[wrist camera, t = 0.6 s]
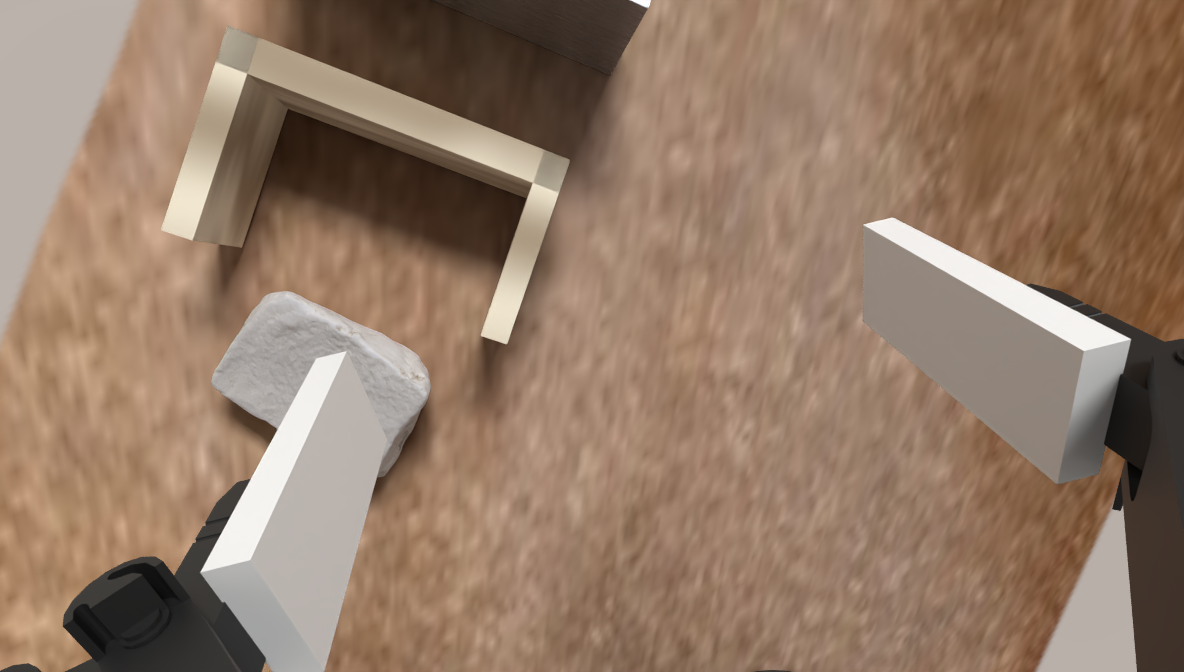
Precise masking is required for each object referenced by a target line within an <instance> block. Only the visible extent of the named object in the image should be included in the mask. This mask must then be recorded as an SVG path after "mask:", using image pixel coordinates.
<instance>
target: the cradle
mask: <svg viewBox="0 0 1184 672" xmlns="http://www.w3.org/2000/svg"><path fill="white" fill-rule="evenodd" d="M288 109H290V110H293V111H296V112H298V113H301V114H304V115H306V116H309V117H311V118H314V119H317V120H319V121H322V122H325V123H327V124H330V125H333V126H335V127H338V128H341V129H343V130H346V131H349V132H351V133H354V134H357V135H359V136H362V137H365V138H367V139H370V140H373V141H375V142H378V143H381V144H383V145H386V146H389V147H391V148H394V149H397V150H399V151H402V152H405V153H407V154H410V155H413V156H415V157H418V158H420V159H423V160H426V161H428V162H431V163H434V164H436V165H439V166H442V167H444V168H447V169H450V170H452V171H455V172H458V173H460V174H463V175H466V176H468V177H471V178H474V179H476V180H479V181H482V182H484V183H487V184H490V185H492V186H495V187H498V188H500V189H503V190H506V191H508V192H511V193H514V194H516V195H519V196H522V197H524V198H527V199H526V202H525V205H524V208H523V211H522V214H521V216H520V219H519V222H518V225H517V228H516V231H515V234H514V237H513V240H512V243H511V246H510V249H509V252H508V254H507V257H506V260H505V263H504V266H503V269H502V272H501V275H500V278H499V281H498V284H497V287H496V290H495V292H494V295H493V298H492V301H491V304H490V307H489V310H488V313H487V316H486V319H485V322H484V325H483V328H482V332H481V336H483V337H486V338H489V339H492V340H495V341H498V342H501V343H504V344H507V343H508V340H509V337H510V334H511V331H512V328H513V325H514V322H515V319H516V317H517V314H518V311H519V308H520V305H521V302H522V299H523V296H524V293H525V290H526V287H527V285H528V282H529V279H530V276H531V273H532V270H533V267H534V264H535V261H536V258H537V255H538V253H539V250H540V247H541V244H542V241H543V238H544V235H545V232H546V229H547V226H548V223H549V221H550V218H551V215H552V212H553V209H554V206H555V203H556V200H557V197H558V194H559V191H560V188H561V186H562V183H563V180H564V177H565V174H566V171H567V168H568V165H569V162H570V160H569V159H566V158H564V157H561V156H559V155H556V154H554V153H551V152H549V151H546V150H544V149H541V148H538V147H536V146H533V145H531V144H528V143H526V142H523V141H521V140H518V139H516V138H513V137H510V136H508V135H505V134H503V133H500V132H498V131H495V130H493V129H490V128H488V127H485V126H482V125H480V124H477V123H475V122H472V121H470V120H467V119H465V118H462V117H460V116H457V115H454V114H452V113H449V112H447V111H444V110H442V109H439V108H437V107H434V106H432V105H429V104H426V103H424V102H421V101H419V100H416V99H414V98H411V97H409V96H406V95H404V94H401V93H398V92H396V91H393V90H391V89H388V88H386V87H383V86H381V85H378V84H375V83H373V82H370V81H368V80H365V79H363V78H360V77H358V76H355V75H353V74H350V73H347V72H345V71H342V70H340V69H337V68H335V67H332V66H330V65H327V64H325V63H322V62H319V61H317V60H314V59H312V58H309V57H307V56H304V55H302V54H299V53H297V52H294V51H291V50H289V49H286V48H284V47H281V46H279V45H276V44H274V43H271V42H269V41H266V40H263V39H261V38H258V37H256V36H253V35H251V34H248V33H246V32H243V31H241V30H238V29H235V28H233V27H230V26H227V29H226V32H225V35H224V39H223V42H222V45H221V48H220V51H219V54H218V57H217V60H216V63H215V66H214V69H213V72H212V75H211V78H210V81H209V85H208V88H207V91H206V94H205V97H204V100H203V103H202V106H201V109H200V112H199V115H198V118H197V121H196V124H195V128H194V131H193V134H192V137H191V140H190V143H189V146H188V149H187V152H186V155H185V158H184V161H183V164H182V167H181V170H180V174H179V177H178V180H177V183H176V186H175V189H174V192H173V195H172V198H171V201H170V204H169V207H168V210H167V213H166V217H165V220H164V223H163V226H162V229H161V230H162V231H165V232H168V233H171V234H174V235H177V236H180V237H183V238H186V239H189V240H193V241H199V242H206V243H213V244H220V245H227V246H234V247H241V248H242V246H243V243H244V240H245V237H246V234H247V231H248V228H249V225H250V222H251V219H252V216H253V213H254V210H255V207H256V204H257V201H258V198H259V195H260V192H261V189H262V186H263V183H264V179H265V176H266V173H267V170H268V167H269V164H270V161H271V158H272V155H273V152H274V149H275V146H276V143H277V140H278V137H279V134H280V131H281V128H282V125H283V122H284V119H285V116H286V113H287V110H288Z"/></svg>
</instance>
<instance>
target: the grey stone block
mask: <svg viewBox="0 0 1184 672" xmlns="http://www.w3.org/2000/svg"><path fill="white" fill-rule="evenodd" d="M345 351H347V352H348V354H349V357H350V359H351V361H352V363H353V365H354V368H355V370H356V372H357V374H358V376H359V379H360V381H361V383H362V385H363V387H364V389H365V392H366V394H367V396H368V398H369V400H370V403H371V405H372V407H373V409H374V411H375V414H376V416H377V418H378V420H379V422H380V425H381V427H382V429H383V431H384V433H385V435H386V438H387V441H386V445H385V449H384V453H383V456H382V460H381V464H380V467H379V471H378V475H377V477H384V476H385V475H386V474H387V472H388V471H389V469H390V468H391V467H392V466H393V465H394V463H395V462H396V461H397V459H398V457H399V455H400V452H401V450H402V446H403V444H404V442H405V440H406V439H407V437H408V436H409V434H410V433H411V432H412V430H413V428H414V426H415V423H416V422H417V419H418V416H419V414H420V410H421V409H422V408H423V407H424V406H425V404H426V402H427V400H428V397H429V394H430V390H431V384H430V380H429V374H428V371H427V369H426V368H425V366H424V364H423V363H422V362H421V359H420V357H419V356H418V355H417V354H416V353H414V352H413V351H411V350H410V349H408V348H407V347H405V346H404V345H401V344H399V343H397V342H395V341H393V340H391V339H390V338H388V337H387V336H385V335H384V334H382V333H380V332H378V331H375V330H372V329H370V328H367V327H365V326H362V325H360V324H358V323H355V322H353V321H350V320H349V319H347V318H345V317H343V316H341V315H339V314H337V313H335V312H333V311H331V310H329V309H327V308H325V307H323V306H320V305H319V304H316V303H314V302H311V301H308V300H306V299H305V298H303V297H301V296H300V295H297V294H295V293H293V292H289V291H282V292H276V293H270V294H268V295H266V296H265V297H263V298H262V300H261V302H260V303H259V304H258V305H257V306H256V307H255V308H254V310H253V311H252V312H251V314H250V315H249V317H248V318H247V320H246V321H245V323H244V325H243V327H242V329H241V331H240V332H239V334H238V335H237V336H236V338H235V339H234V341H233V343H232V344H231V345H230V347H229V349H228V350H227V352H226V354H225V355H224V357H223V359H222V360H221V362H220V364H219V366H218V367H217V368H216V370H215V372H214V375H213V377H212V380H211V384H212V385H213V387H214V388H215V389H216V390H218V391H220V392H221V393H222V394H223V395H224V396H226V397H227V398H228V399H230V400H231V401H233V402H234V403H236V404H237V405H239V406H240V407H242V408H243V409H244V410H246V411H247V412H249V413H250V414H252V415H253V416H255V417H257V418H259V419H261V420H265V421H267V422H268V423H269V424H271V425H272V426H274V427H275V428H277V430H278V428H279V426H280V425H281V423H282V421H283V419H284V417H285V415H286V413H287V412H288V410H289V408H290V406H291V404H292V402H293V401H294V399H295V397H296V395H297V393H298V391H299V389H300V388H301V386H302V384H303V382H304V380H305V378H306V377H307V375H308V373H309V371H310V369H311V367H312V365H313V364H314V362H315V360H316V358H320V357H325V356H329V355H333V354H337V353H341V352H345Z"/></svg>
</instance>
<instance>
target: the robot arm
mask: <svg viewBox="0 0 1184 672" xmlns="http://www.w3.org/2000/svg"><path fill="white" fill-rule="evenodd" d="M863 322H864V323H866V324H867V325H868V326H869V327H870V328H872V329H873V330H874V331H875V332H876V333H877V334H879V335H880V336H881V337H882V338H883V339H885V340H886V341H887V342H888V343H889V344H891V345H892V346H893V347H894V348H895V349H897V350H898V351H899V352H900V353H901V354H902V355H904V356H905V357H906V358H907V359H908V360H910V361H911V362H912V363H913V364H914V365H916V366H917V367H918V368H919V369H920V370H922V371H923V372H924V373H925V374H926V375H928V376H929V377H930V378H931V379H932V380H933V381H935V382H936V383H937V384H938V385H939V386H941V387H942V388H943V389H944V390H945V391H947V392H948V393H949V394H950V395H951V396H953V397H954V398H955V399H956V400H957V401H958V402H960V403H961V404H962V405H963V406H964V407H966V408H967V409H968V410H969V411H970V412H972V413H973V414H974V415H975V416H976V417H978V418H979V419H980V420H981V421H982V422H983V423H985V424H986V425H987V426H988V427H989V428H991V429H992V430H993V431H994V432H995V433H997V434H998V435H999V436H1000V437H1001V438H1003V439H1004V440H1005V441H1006V442H1007V443H1008V444H1010V445H1011V446H1012V447H1013V448H1014V449H1016V450H1017V451H1018V452H1019V453H1020V454H1022V455H1023V456H1024V457H1025V458H1026V459H1028V460H1029V461H1030V462H1031V463H1032V464H1034V465H1035V466H1036V467H1037V468H1038V469H1039V470H1041V471H1042V472H1043V473H1044V474H1045V475H1047V476H1048V477H1049V478H1050V479H1051V480H1053V481H1054V482H1055V483H1056V484H1061V483H1065V482H1069V481H1073V480H1076V479H1080V478H1084V477H1088V476H1092V475H1096V474H1099V471H1100V467H1101V463H1102V459H1103V455H1104V451H1105V446H1107V447H1109V448H1110V449H1111V450H1113V451H1114V452H1116V453H1117V454H1118V455H1120V456H1121V457H1123V458H1124V459H1125V462H1124V466H1123V470H1122V474H1121V478H1120V482H1119V485H1118V489H1117V493H1116V497H1115V501H1114V504H1113V508H1112V509H1114V510H1119V511H1120V510H1121V508H1122V506H1123V508H1124V520H1125V532H1126V544H1127V556H1128V567H1129V580H1130V592H1131V604H1132V616H1133V628H1134V640H1135V651H1136V664H1137V672H1184V339H1178V340H1173V341H1167V342H1164V341H1162V340H1159V339H1157V338H1155V337H1153V336H1151V335H1149V334H1147V333H1145V332H1143V331H1141V330H1139V329H1137V328H1135V327H1133V326H1131V325H1129V324H1127V323H1125V322H1123V321H1121V320H1119V319H1117V318H1114V317H1112V316H1110V315H1108V314H1102V311H1100V310H1098V309H1096V308H1094V307H1092V306H1090V305H1088V304H1086V305H1084V304H1083V302H1082V301H1080V300H1078V299H1076V298H1074V297H1072V296H1069V295H1067V294H1065V293H1063V292H1061V291H1058V290H1054V289H1050V288H1046V287H1042V286H1038V285H1034V284H1028V285H1024V284H1022V283H1020V282H1018V281H1016V280H1014V279H1012V278H1010V277H1008V276H1006V275H1004V274H1002V273H1000V272H998V271H997V270H995V269H993V268H991V267H989V266H987V265H985V264H983V263H981V262H979V261H977V260H975V259H973V258H971V257H969V256H967V255H965V254H963V253H961V252H959V251H957V250H955V249H953V248H951V247H950V246H948V245H946V244H944V243H942V242H940V241H938V240H936V239H934V238H932V237H930V236H928V235H926V234H924V233H922V232H920V231H918V230H916V229H914V228H912V227H910V226H908V225H906V224H904V223H903V222H901V221H899V220H897V219H895V218H889V219H885V220H880V221H876V222H872V223H868V224H864V225H863ZM386 441H387V438H386V435H385V433H384V431H383V429H382V427H381V425H380V422H379V420H378V418H377V416H376V414H375V411H374V409H373V407H372V405H371V403H370V400H369V398H368V396H367V394H366V392H365V389H364V387H363V385H362V383H361V381H360V379H359V376H358V374H357V372H356V370H355V368H354V365H353V363H352V361H351V359H350V357H349V354H348V352H347V351H345V352H341V353H337V354H333V355H329V356H325V357H320V358H316V360H315V362H314V364H313V365H312V367H311V369H310V371H309V373H308V375H307V377H306V378H305V380H304V382H303V384H302V386H301V388H300V389H299V391H298V393H297V395H296V397H295V399H294V401H293V402H292V404H291V406H290V408H289V410H288V412H287V413H286V415H285V417H284V419H283V421H282V423H281V425H280V426H279V428H278V430H277V432H276V434H275V436H274V437H273V439H272V441H271V443H270V445H269V447H268V448H267V450H266V452H265V454H264V456H263V458H262V460H261V461H260V463H259V465H258V467H257V469H256V471H255V472H254V474H253V476H252V478H251V479H248V480H244V481H240V482H237V483H236V484H235V485H234V486H233V487H232V488H231V489H230V490H229V491H228V492H227V493H226V494H225V495H224V496H223V497H222V498H221V499H220V500H219V501H218V502H217V503H216V505H215V507H214V508H213V510H212V512H211V513H210V515H209V517H208V519H207V520H206V522H205V523H206V526H203V527H202V529H201V531H200V532H199V534H198V536H197V537H196V543H193V544H192V546H191V548H190V549H189V551H188V553H187V554H186V556H185V558H184V560H183V561H182V563H181V565H180V566H179V568H178V570H177V572H176V573H175V575H173V574H172V573H171V571H170V570H169V569H168V567H167V566H166V565H165V563H164V562H163V561H162V560H160V559H158V558H157V557H140V558H137V559H134V560H131V561H127V562H124V563H122V564H121V565H119V566H117V567H115V568H113V569H111V570H109V571H107V572H105V573H104V574H103V575H101V576H100V577H99V578H97V579H96V580H95V581H93V582H92V583H90V584H89V585H88V586H87V587H86V588H85V589H84V590H83V591H82V592H81V593H80V594H79V595H78V596H77V597H76V598H75V599H74V600H73V601H72V603H71V604H70V606H69V607H68V609H67V611H66V612H65V614H64V619H63V627H64V628H65V629H66V630H67V631H68V632H69V633H70V634H71V635H72V636H73V638H74V639H75V640H76V641H77V642H78V643H79V644H80V645H81V646H82V647H83V648H84V649H85V650H86V651H87V652H88V653H89V655H90V656H91V657H92V659H90V660H88V661H86V662H84V663H82V664H80V665H78V666H76V667H74V668H72V669H70V670H68V671H65V672H261V671H262V669H263V666H264V663H265V662H266V663H267V664H268V666H269V667H270V668H271V670H272V671H273V672H323V671H325V667H326V663H327V660H328V656H329V652H330V649H331V645H332V641H333V637H334V634H335V630H336V626H337V623H338V619H339V615H340V612H341V608H342V604H343V600H344V597H345V593H346V589H347V586H348V582H349V578H350V575H351V571H352V567H353V563H354V560H355V556H356V552H357V549H358V545H359V541H360V538H361V534H362V530H363V527H364V523H365V519H366V515H367V512H368V508H369V504H370V501H371V497H372V493H373V490H374V486H375V482H376V478H377V475H378V471H379V467H380V464H381V460H382V456H383V453H384V449H385V445H386ZM0 672H41V671H40V670H39V669H38V668H37V667H35V666H33V665H31V664H28V663H27V664H20V665H13V666H10V667H8V668H6V669H3V670H1V671H0ZM756 672H789V671H779V670H766V671H756Z"/></svg>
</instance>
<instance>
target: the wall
mask: <svg viewBox="0 0 1184 672" xmlns="http://www.w3.org/2000/svg"><path fill="white" fill-rule="evenodd" d="M433 1H435V2H437V3H440V4H442V5H445V6H447V7H449V8H452V9H454V10H456V11H459V12H461V13H463V14H466V15H468V16H471V17H473V18H475V19H478V20H480V21H482V22H485V23H487V24H489V25H492V26H494V27H496V28H499V29H501V30H504V31H506V32H508V33H511V34H513V35H515V36H518V37H520V38H522V39H525V40H527V41H530V42H532V43H534V44H537V45H539V46H541V47H544V48H546V49H548V50H551V51H553V52H556V53H558V54H560V55H563V56H565V57H567V58H570V59H572V60H574V61H577V62H579V63H582V64H584V65H586V66H589V67H591V68H593V69H596V70H598V71H600V72H603V73H605V74H608V75H611V73H612V71H613V69H614V68H615V66H616V64H617V62H618V60H619V59H620V57H621V55H622V53H623V52H624V50H625V48H626V46H627V45H628V43H629V41H630V39H631V37H632V36H633V34H634V32H635V30H636V29H637V27H638V25H639V23H640V21H641V20H642V18H643V16H644V14H645V13H646V11H647V9H648V7H649V4H650V1H651V0H433Z"/></svg>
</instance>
